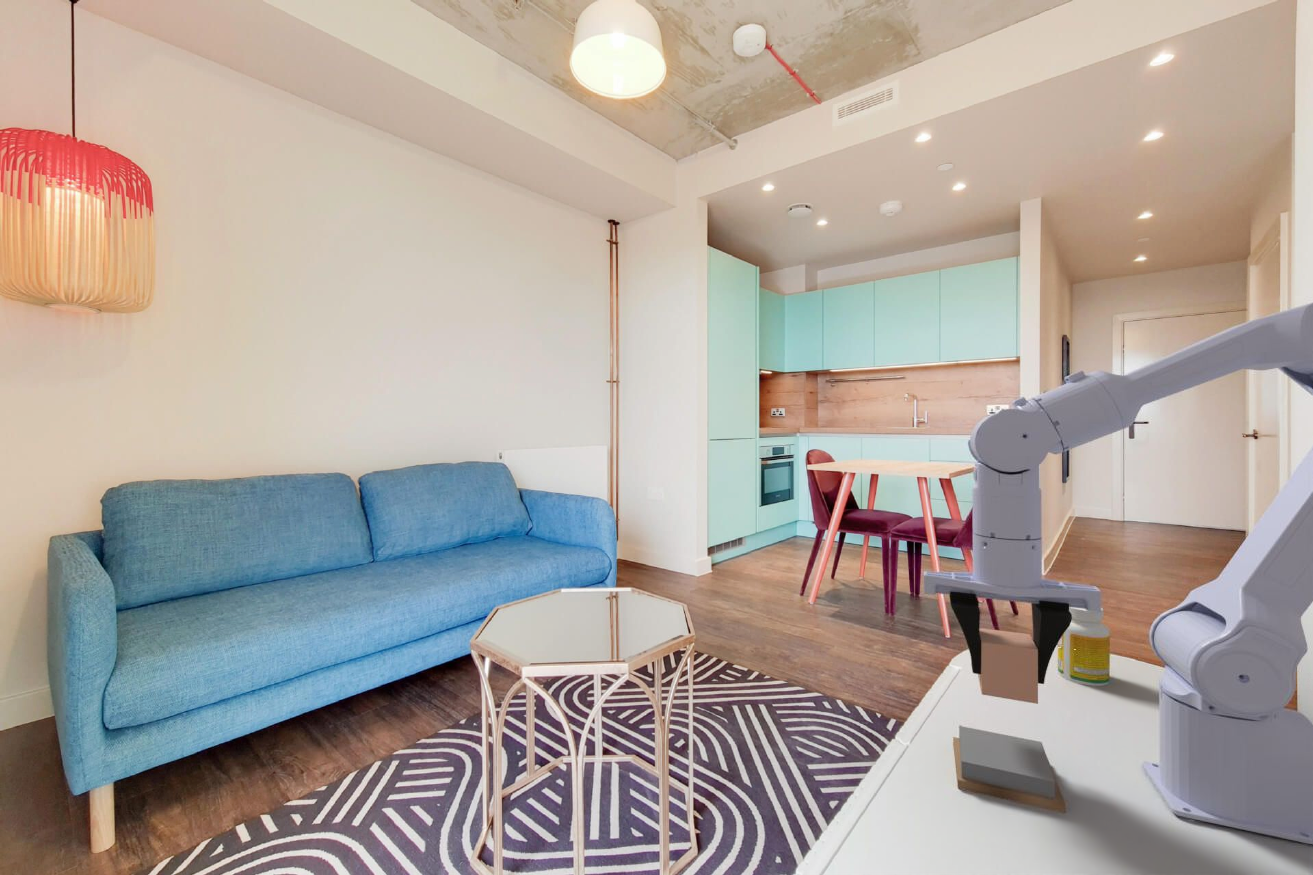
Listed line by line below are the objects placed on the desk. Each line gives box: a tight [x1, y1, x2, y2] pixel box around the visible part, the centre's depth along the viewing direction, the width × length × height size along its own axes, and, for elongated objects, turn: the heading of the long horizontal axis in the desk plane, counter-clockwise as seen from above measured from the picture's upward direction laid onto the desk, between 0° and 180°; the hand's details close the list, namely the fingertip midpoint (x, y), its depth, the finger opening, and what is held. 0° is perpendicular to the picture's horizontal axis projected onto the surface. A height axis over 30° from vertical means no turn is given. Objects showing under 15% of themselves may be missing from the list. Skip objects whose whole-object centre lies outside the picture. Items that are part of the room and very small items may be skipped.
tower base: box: [952, 736, 1066, 814], centre depth 53 cm, size 8×8×2 cm
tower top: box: [958, 725, 1055, 799], centre depth 53 cm, size 7×7×2 cm
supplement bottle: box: [1057, 607, 1111, 687], centre depth 73 cm, size 5×5×10 cm
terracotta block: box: [977, 627, 1039, 705], centre depth 55 cm, size 4×4×5 cm
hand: (1006, 674), depth 55 cm, fingers closed on terracotta block, 4 cm apart
